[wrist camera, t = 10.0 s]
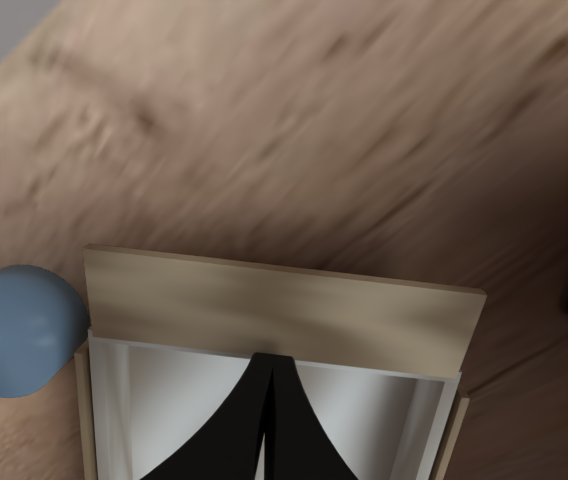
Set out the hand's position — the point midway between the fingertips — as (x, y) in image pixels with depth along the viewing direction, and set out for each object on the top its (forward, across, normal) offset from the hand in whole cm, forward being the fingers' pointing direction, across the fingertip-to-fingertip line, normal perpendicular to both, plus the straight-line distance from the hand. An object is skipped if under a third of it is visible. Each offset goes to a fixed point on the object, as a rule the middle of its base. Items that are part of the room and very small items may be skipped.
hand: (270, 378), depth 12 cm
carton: (+4, 0, +6) cm, 7 cm away
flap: (+1, 0, 0) cm, 1 cm away
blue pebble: (+4, +11, +1) cm, 12 cm away
